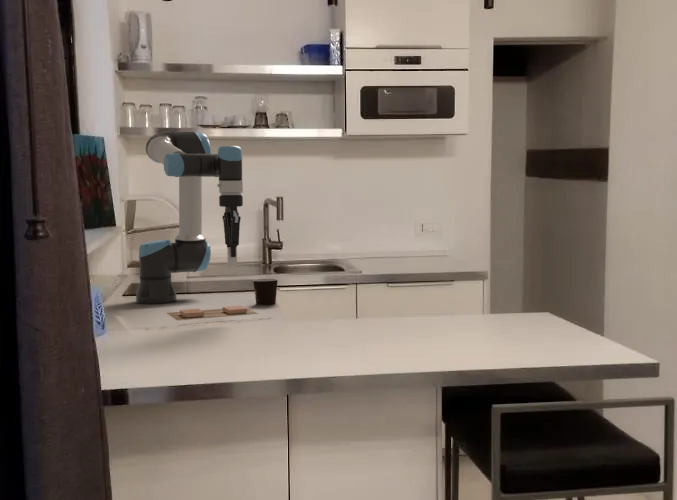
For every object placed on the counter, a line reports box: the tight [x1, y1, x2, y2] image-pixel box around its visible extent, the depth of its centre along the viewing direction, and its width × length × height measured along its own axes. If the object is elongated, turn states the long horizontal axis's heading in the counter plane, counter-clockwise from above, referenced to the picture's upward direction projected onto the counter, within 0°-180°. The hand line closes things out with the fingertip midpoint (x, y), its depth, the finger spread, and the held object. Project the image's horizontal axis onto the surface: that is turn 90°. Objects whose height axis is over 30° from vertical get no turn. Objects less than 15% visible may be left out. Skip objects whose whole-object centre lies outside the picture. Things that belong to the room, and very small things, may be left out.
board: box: [166, 308, 259, 325], centre depth 230 cm, size 17×26×2 cm, turn 114°
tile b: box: [221, 305, 248, 314], centre depth 231 cm, size 2×6×8 cm
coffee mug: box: [252, 278, 278, 306], centre depth 251 cm, size 12×9×10 cm
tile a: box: [179, 308, 204, 318], centre depth 225 cm, size 2×6×8 cm
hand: (232, 266), depth 231 cm, fingers closed
